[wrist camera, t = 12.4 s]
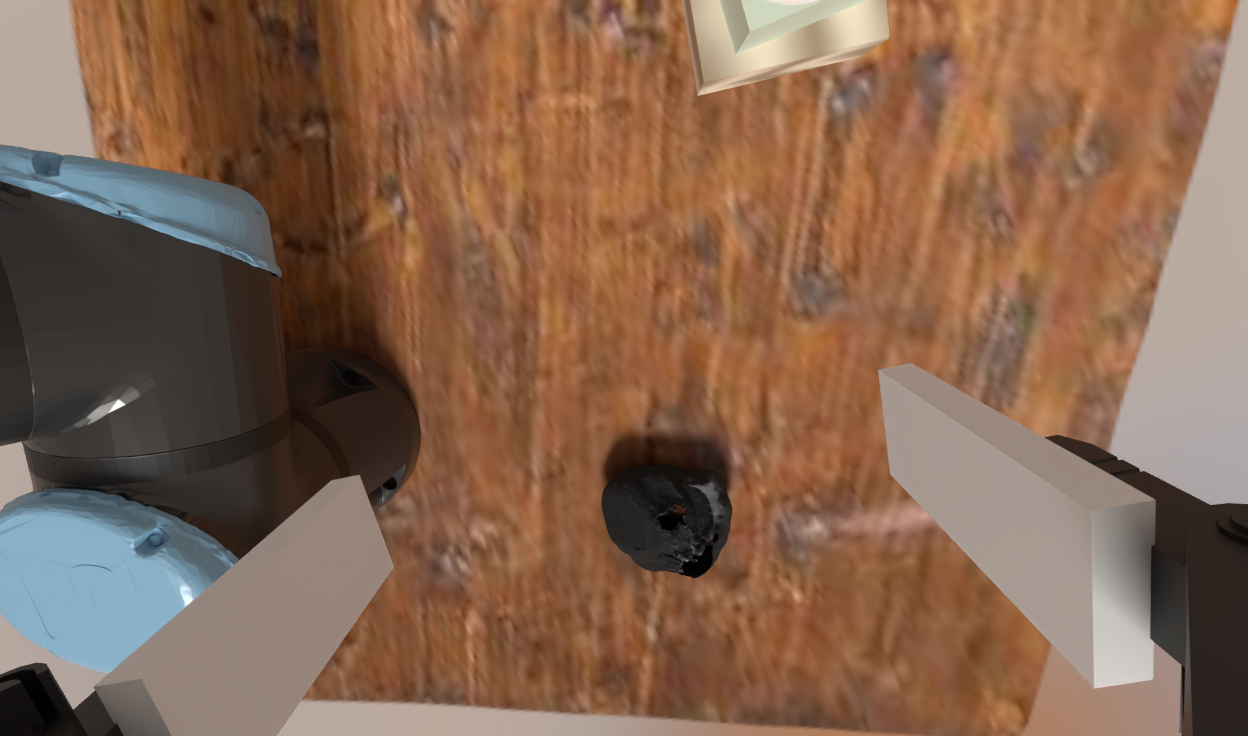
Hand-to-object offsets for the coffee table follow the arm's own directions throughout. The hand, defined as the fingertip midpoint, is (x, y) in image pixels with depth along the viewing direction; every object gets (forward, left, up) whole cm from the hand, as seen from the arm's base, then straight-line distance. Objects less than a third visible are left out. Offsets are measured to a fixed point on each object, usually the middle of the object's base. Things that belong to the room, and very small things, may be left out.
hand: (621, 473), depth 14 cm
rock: (-2, -19, -33) cm, 38 cm away
